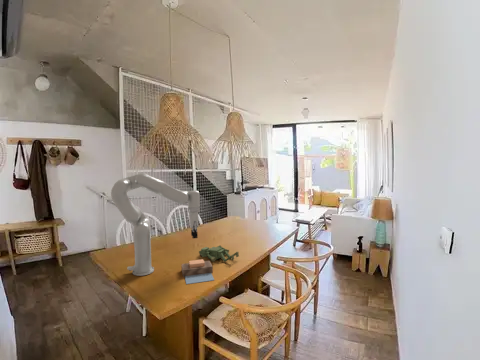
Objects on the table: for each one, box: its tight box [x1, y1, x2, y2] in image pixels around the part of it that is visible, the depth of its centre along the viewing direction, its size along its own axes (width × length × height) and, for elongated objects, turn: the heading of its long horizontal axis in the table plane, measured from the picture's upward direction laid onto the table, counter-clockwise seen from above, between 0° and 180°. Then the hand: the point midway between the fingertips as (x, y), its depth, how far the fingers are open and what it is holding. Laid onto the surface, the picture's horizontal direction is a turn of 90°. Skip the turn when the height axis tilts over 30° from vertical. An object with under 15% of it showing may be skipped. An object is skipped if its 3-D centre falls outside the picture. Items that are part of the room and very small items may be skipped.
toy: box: [198, 245, 240, 263], centre depth 182 cm, size 21×8×30 cm
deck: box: [181, 260, 214, 278], centre depth 160 cm, size 18×10×4 cm, turn 107°
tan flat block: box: [188, 258, 205, 268], centre depth 160 cm, size 9×6×2 cm, turn 107°
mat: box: [184, 273, 215, 285], centre depth 150 cm, size 16×10×1 cm, turn 107°
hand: (194, 236), depth 168 cm, fingers open, 5 cm apart
